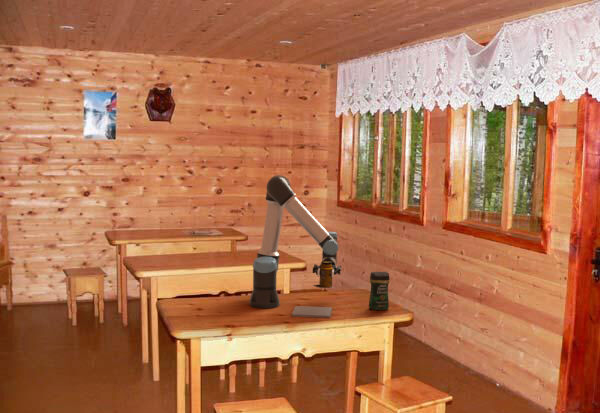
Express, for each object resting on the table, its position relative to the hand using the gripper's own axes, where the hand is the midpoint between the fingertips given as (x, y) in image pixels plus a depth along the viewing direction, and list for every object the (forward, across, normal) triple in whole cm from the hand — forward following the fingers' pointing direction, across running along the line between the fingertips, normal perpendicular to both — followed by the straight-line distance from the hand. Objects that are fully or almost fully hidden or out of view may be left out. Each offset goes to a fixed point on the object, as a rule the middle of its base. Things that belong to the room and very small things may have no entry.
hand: (325, 274), depth 305 cm
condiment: (-5, +1, -7) cm, 9 cm away
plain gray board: (-5, +6, -20) cm, 21 cm away
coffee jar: (-18, -26, -20) cm, 37 cm away
